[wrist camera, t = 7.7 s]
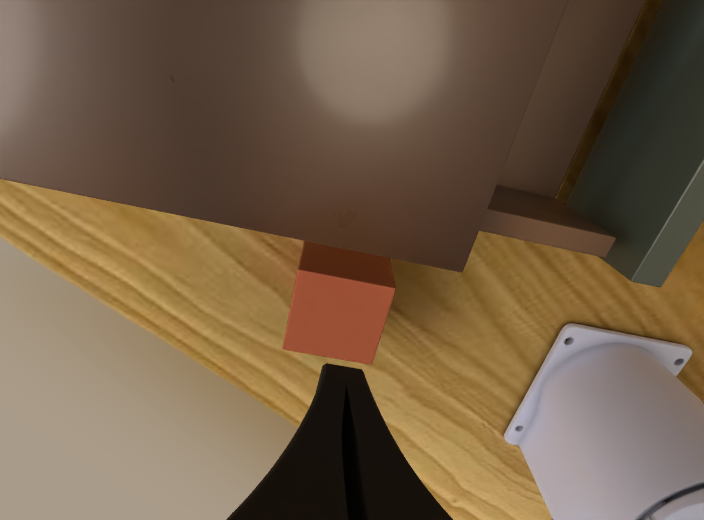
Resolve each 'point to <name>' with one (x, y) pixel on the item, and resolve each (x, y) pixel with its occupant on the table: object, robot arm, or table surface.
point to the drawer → (613, 142)
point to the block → (339, 303)
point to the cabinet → (277, 111)
